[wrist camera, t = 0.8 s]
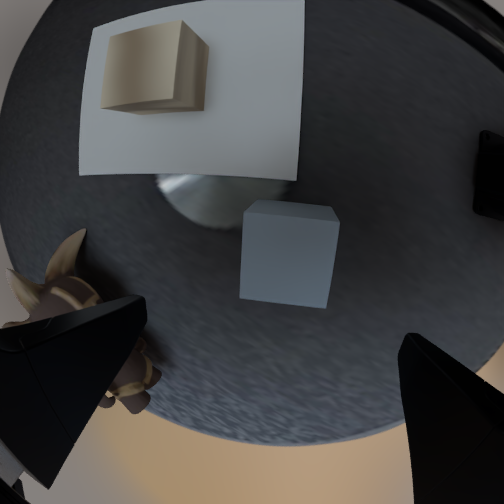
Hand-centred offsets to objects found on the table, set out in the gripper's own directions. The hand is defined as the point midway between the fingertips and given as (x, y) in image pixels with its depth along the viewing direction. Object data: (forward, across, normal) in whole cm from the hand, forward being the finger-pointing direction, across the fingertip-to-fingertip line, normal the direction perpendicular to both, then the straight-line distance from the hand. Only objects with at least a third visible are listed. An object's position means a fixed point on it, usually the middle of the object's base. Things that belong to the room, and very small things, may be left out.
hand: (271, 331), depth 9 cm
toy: (+12, +16, +9) cm, 22 cm away
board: (+12, +9, -11) cm, 18 cm away
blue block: (+12, 0, 0) cm, 12 cm away
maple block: (+11, +9, -11) cm, 18 cm away
